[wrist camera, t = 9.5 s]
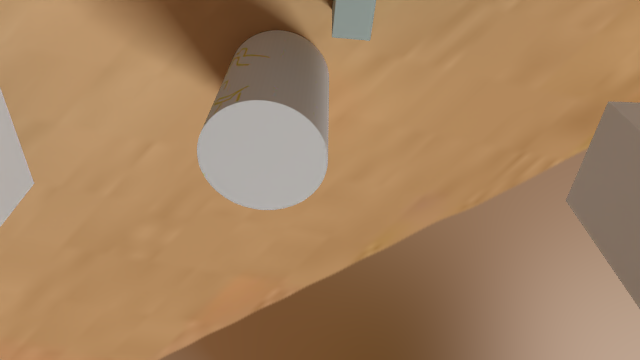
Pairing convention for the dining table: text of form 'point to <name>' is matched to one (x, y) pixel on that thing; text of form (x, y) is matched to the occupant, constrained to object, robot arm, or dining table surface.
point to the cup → (269, 123)
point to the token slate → (352, 19)
